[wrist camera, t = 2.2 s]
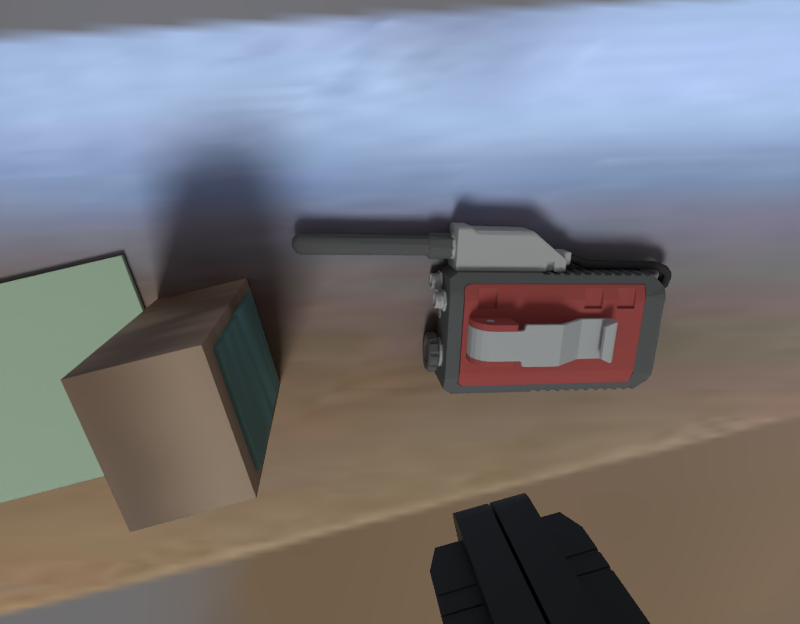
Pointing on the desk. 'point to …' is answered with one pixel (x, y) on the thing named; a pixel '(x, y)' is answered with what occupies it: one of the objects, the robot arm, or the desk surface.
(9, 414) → the mat
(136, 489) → the brown teal box
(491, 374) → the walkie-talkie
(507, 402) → the desk surface
